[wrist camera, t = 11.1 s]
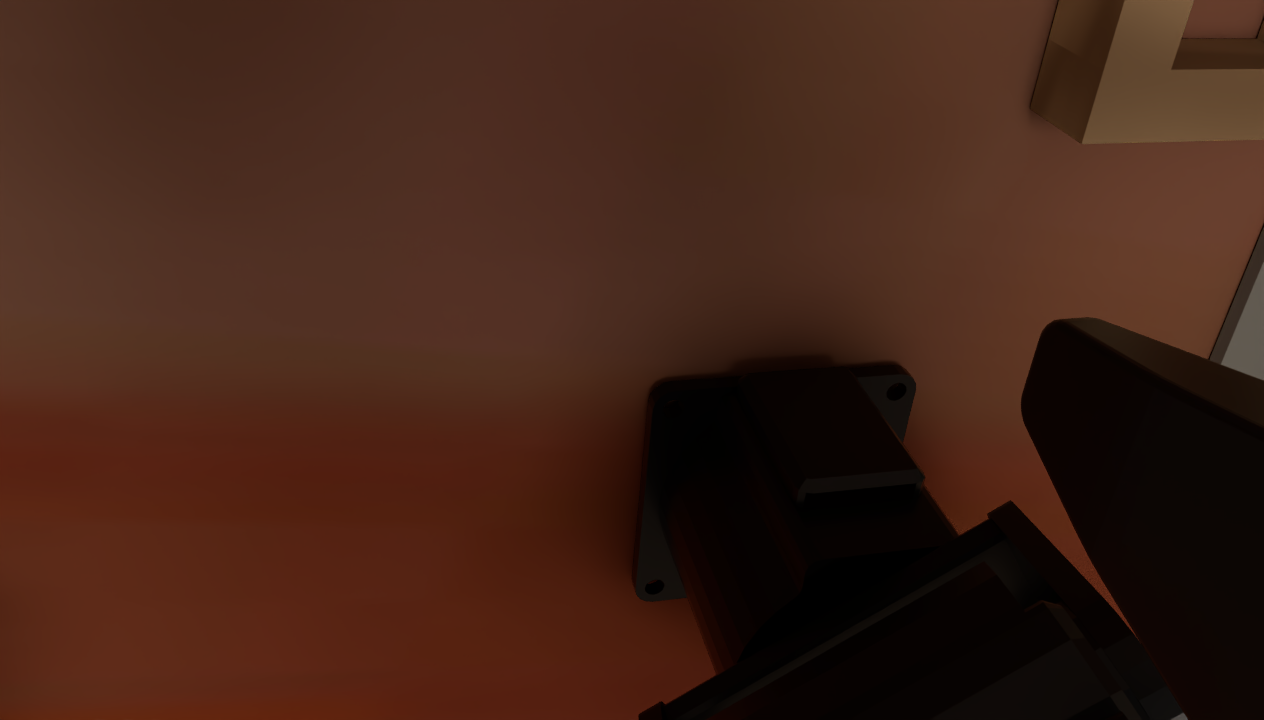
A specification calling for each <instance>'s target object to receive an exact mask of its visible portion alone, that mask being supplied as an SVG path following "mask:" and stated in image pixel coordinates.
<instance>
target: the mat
mask: <svg viewBox="0 0 1264 720" xmlns="http://www.w3.org/2000/svg"><path fill="white" fill-rule="evenodd" d="M1209 360H1210V361H1213V362H1216V363H1219V364H1221V365H1224V366H1227V367H1229V368H1232V369H1235V370H1237V371H1240V372H1243V373H1245V374H1248V375H1251V376H1253V377H1256V378H1259V379H1261V380H1264V227H1263V230H1262V232H1261V235H1260V237H1259V240H1258V242H1257V245H1256V247H1255V249H1254V252H1253V254H1252V257H1251V259H1250V262H1249V264H1248V267H1247V269H1246V271H1245V274H1244V276H1243V279H1242V281H1241V284H1240V286H1239V289H1238V291H1237V293H1236V296H1235V298H1234V301H1233V303H1232V306H1231V308H1230V311H1229V313H1228V315H1227V318H1226V320H1225V323H1224V325H1223V328H1222V330H1221V333H1220V335H1219V337H1218V340H1217V342H1216V345H1215V347H1214V350H1213V352H1212V355H1211V357H1210V359H1209Z"/></svg>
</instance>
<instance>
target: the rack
mask: <svg viewBox="0 0 1264 720" xmlns="http://www.w3.org/2000/svg"><path fill="white" fill-rule="evenodd" d="M1193 2H1194V0H1059V2H1058V6H1057V10H1056V13H1055V17H1054V21H1053V24H1052V28H1051V32H1050V36H1049V39H1048V43H1047V47H1046V51H1045V54H1044V58H1043V62H1042V65H1041V69H1040V73H1039V77H1038V80H1037V84H1036V88H1035V91H1034V95H1033V99H1032V103H1031V106H1030V109H1031V110H1032V111H1034V112H1035V113H1037V114H1038V115H1040V116H1041V117H1043V118H1044V119H1046V120H1047V121H1049V122H1050V123H1052V124H1053V125H1054V126H1056V127H1057V128H1059V129H1060V130H1062V131H1063V132H1065V133H1066V134H1068V135H1069V136H1071V137H1072V138H1074V139H1075V140H1076V141H1078V142H1079V143H1081V144H1103V143H1144V142H1184V141H1225V140H1264V21H1263V24H1262V26H1261V29H1260V32H1259V34H1258V37H1257V39H1181V38H1182V35H1183V32H1184V29H1185V26H1186V23H1187V20H1188V17H1189V14H1190V11H1191V8H1192V5H1193Z"/></svg>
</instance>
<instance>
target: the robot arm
mask: <svg viewBox="0 0 1264 720" xmlns="http://www.w3.org/2000/svg"><path fill="white" fill-rule="evenodd" d="M896 383H899V384H898V386H897V387H896V388H894V389H893V390H891V391H888V389H889V387H891V386H892V385H893V384H896ZM915 391H916V383H915V381H914V379H913V378H912V376H911V375H910V374H909V373H908V371H907V370H906V369H905V368H903V367H902V366H897V365H888V366H874V367H860V368H846V367H831V368H817V369H803V370H789V371H776V372H762V373H750V374H747V375H745V376H736V377H722V378H708V379H695V380H681V381H670V382H666V383H663V384H661V385H659V386H658V387H656V388H655V389H654V390H653V392H652V393H651V394H650V397H649V400H648V410H647V421H646V432H645V443H644V453H643V464H642V475H641V486H640V497H639V507H638V518H637V529H636V540H635V551H634V561H633V572H632V582H633V586H634V589H635V592H636V595H637V596H638V597H639V598H640V599H642V600H644V601H652V602H653V601H662V600H670V599H679V598H688V601H689V603H690V606H691V608H692V611H693V614H694V616H695V619H696V622H697V624H698V627H699V630H700V632H701V635H702V638H703V640H704V643H705V646H706V648H707V651H708V654H709V656H710V659H711V662H712V664H713V667H714V669H715V672H716V676H714V677H712V678H710V679H709V680H707V681H705V682H703V683H702V684H700V685H698V686H696V687H695V688H693V689H691V690H690V691H688V692H686V693H684V694H683V695H681V696H679V697H677V698H676V699H674V700H672V701H670V702H669V703H667V704H664V703H663V702H659V703H657V704H656V705H654V706H652V707H650V708H649V709H647V710H645V711H643V712H642V713H640V714H639V720H1264V380H1261V379H1259V378H1256V377H1253V376H1251V375H1248V374H1245V373H1243V372H1240V371H1237V370H1235V369H1232V368H1229V367H1227V366H1224V365H1221V364H1219V363H1216V362H1213V361H1210V360H1208V359H1205V358H1202V357H1200V356H1197V355H1194V354H1192V353H1189V352H1186V351H1184V350H1181V349H1178V348H1176V347H1173V346H1170V345H1168V344H1165V343H1162V342H1159V341H1157V340H1154V339H1151V338H1149V337H1146V336H1143V335H1141V334H1138V333H1135V332H1133V331H1130V330H1127V329H1125V328H1122V327H1119V326H1117V325H1114V324H1111V323H1108V322H1106V321H1103V320H1100V319H1097V318H1089V317H1086V318H1071V319H1059V320H1054V321H1052V322H1051V323H1049V324H1048V325H1047V326H1046V327H1045V328H1044V330H1043V331H1042V333H1041V335H1040V338H1039V341H1038V344H1037V347H1036V351H1035V354H1034V357H1033V360H1032V364H1031V367H1030V370H1029V373H1028V377H1027V380H1026V383H1025V387H1024V390H1023V393H1022V398H1021V412H1022V417H1023V421H1024V424H1025V426H1026V428H1027V431H1028V433H1029V435H1030V437H1031V439H1032V441H1033V443H1034V445H1035V447H1036V449H1037V451H1038V454H1039V456H1040V458H1041V460H1042V462H1043V464H1044V466H1045V468H1046V470H1047V472H1048V474H1049V476H1050V479H1051V481H1052V483H1053V485H1054V487H1055V489H1056V491H1057V493H1058V495H1059V497H1060V499H1061V502H1062V504H1063V506H1064V508H1065V510H1066V512H1067V514H1068V516H1069V518H1070V520H1071V522H1072V524H1073V527H1074V529H1075V531H1076V533H1077V535H1078V537H1079V539H1080V541H1081V543H1082V545H1083V547H1084V549H1085V551H1086V552H1087V554H1088V556H1089V558H1090V560H1091V562H1092V564H1093V565H1094V567H1095V569H1096V570H1097V572H1098V574H1099V576H1100V577H1101V579H1102V581H1103V582H1104V584H1105V586H1106V587H1107V589H1108V591H1109V592H1110V594H1111V595H1112V597H1113V599H1114V600H1115V602H1116V604H1117V605H1118V607H1119V608H1120V610H1121V612H1122V613H1123V615H1124V617H1125V618H1126V620H1127V621H1128V623H1129V625H1130V626H1131V628H1132V630H1133V631H1134V633H1135V634H1136V636H1137V638H1138V639H1139V640H1138V639H1137V638H1136V636H1135V635H1134V634H1133V632H1132V631H1131V630H1130V629H1129V627H1128V626H1127V625H1126V624H1125V623H1124V621H1123V620H1122V619H1121V618H1120V616H1119V615H1118V614H1117V613H1116V611H1115V610H1114V609H1113V608H1112V607H1111V606H1110V605H1109V604H1108V602H1107V601H1106V600H1105V599H1104V598H1103V597H1102V596H1101V595H1100V594H1099V593H1098V592H1097V590H1096V589H1095V588H1094V587H1093V586H1092V585H1091V584H1090V583H1089V582H1088V581H1087V580H1086V579H1085V578H1084V577H1083V576H1082V575H1081V574H1080V573H1079V572H1078V570H1077V569H1076V568H1075V567H1074V566H1073V565H1072V564H1071V563H1070V562H1069V561H1068V560H1067V559H1066V558H1065V557H1064V556H1063V555H1062V554H1061V553H1060V551H1059V550H1058V549H1057V548H1056V547H1055V546H1054V545H1053V544H1052V543H1051V542H1050V541H1049V540H1048V539H1047V538H1046V537H1045V536H1044V535H1043V534H1042V532H1041V531H1040V530H1039V529H1038V528H1037V527H1036V526H1035V525H1034V524H1033V523H1032V522H1031V521H1030V520H1029V519H1028V518H1027V517H1026V516H1025V515H1024V513H1023V512H1022V511H1021V510H1020V509H1019V508H1018V507H1017V506H1016V505H1015V504H1014V503H1013V502H1012V501H1011V500H1010V501H1008V502H1007V503H1005V504H1003V505H1002V506H1000V507H998V508H996V509H995V510H993V511H991V512H989V513H988V514H987V515H988V518H989V519H987V520H985V521H984V522H982V523H980V524H978V525H977V526H975V527H973V528H971V529H970V530H968V531H966V532H964V533H963V534H961V535H959V534H958V532H957V531H956V529H955V528H954V527H953V525H952V524H951V522H950V521H949V520H948V518H947V517H946V515H945V514H944V512H943V511H942V510H941V508H940V507H939V505H938V504H937V502H936V501H935V500H934V498H933V497H932V495H931V494H930V492H929V491H928V490H927V488H926V487H925V485H924V480H925V475H924V472H923V471H922V470H921V468H920V467H919V465H918V464H917V463H916V461H915V460H914V458H913V457H912V456H911V454H910V453H909V451H908V450H907V449H906V447H905V446H904V444H903V440H904V436H905V432H906V428H907V424H908V420H909V415H910V411H911V407H912V403H913V399H914V395H915ZM673 400H679V403H678V404H677V405H676V406H675V407H672V408H669V409H668V408H664V406H665V405H666V404H667V403H668V402H669V401H673ZM653 580H657V581H656V582H654V583H651V584H648V583H649V582H650V581H653ZM1139 641H1140V642H1139Z"/></svg>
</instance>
